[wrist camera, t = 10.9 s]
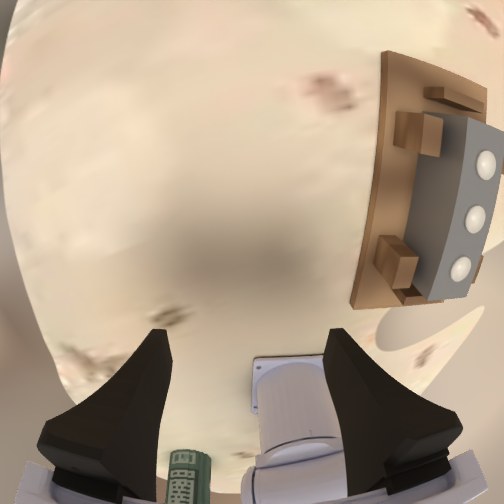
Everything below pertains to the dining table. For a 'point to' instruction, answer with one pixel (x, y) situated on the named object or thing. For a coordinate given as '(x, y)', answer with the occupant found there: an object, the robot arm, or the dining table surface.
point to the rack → (405, 172)
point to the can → (188, 478)
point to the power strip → (454, 206)
